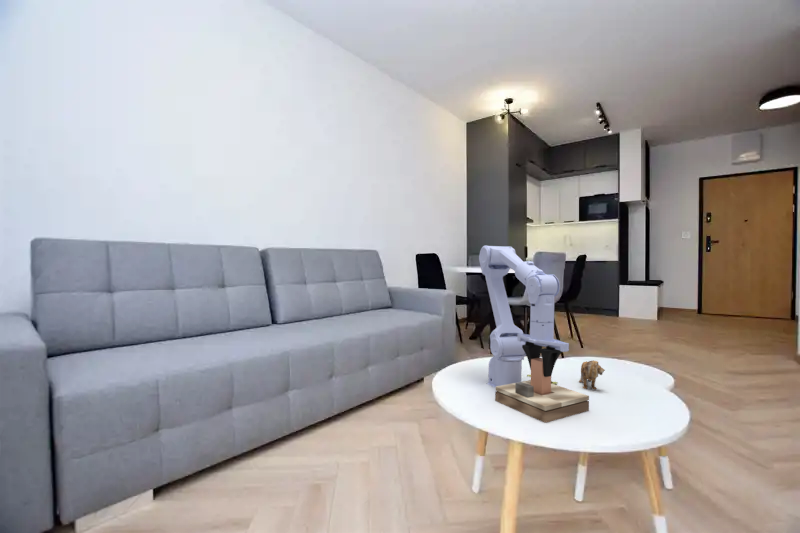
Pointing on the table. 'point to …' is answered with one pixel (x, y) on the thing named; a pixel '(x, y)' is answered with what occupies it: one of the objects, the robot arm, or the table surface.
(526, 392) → the lid
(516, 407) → the wooden box
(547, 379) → the terracotta rectangular block
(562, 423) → the table surface
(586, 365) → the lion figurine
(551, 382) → the key
